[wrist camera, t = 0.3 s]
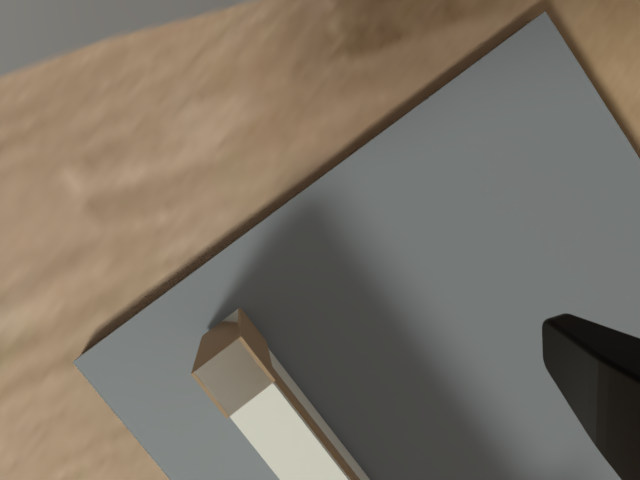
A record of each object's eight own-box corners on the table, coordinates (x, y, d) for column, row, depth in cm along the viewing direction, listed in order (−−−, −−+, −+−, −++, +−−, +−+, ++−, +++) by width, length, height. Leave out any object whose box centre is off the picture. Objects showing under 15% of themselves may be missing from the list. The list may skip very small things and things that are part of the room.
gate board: (776, 398, 26) (994, 472, 18) (389, 730, 24) (458, 963, 16) (532, 19, 23) (669, -71, 16) (80, 355, 21) (-4, 430, 14)
